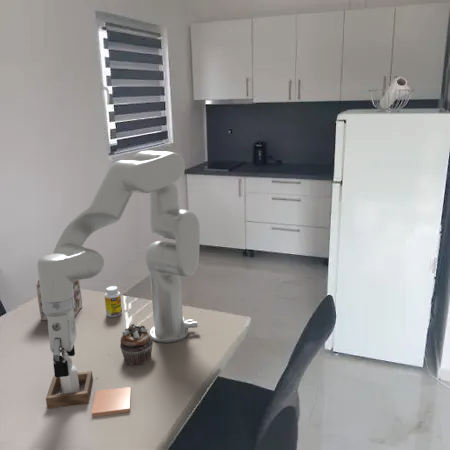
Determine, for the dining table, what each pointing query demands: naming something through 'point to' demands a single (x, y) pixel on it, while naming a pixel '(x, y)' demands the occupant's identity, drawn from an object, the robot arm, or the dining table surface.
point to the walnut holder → (70, 398)
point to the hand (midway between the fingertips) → (65, 365)
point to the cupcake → (136, 345)
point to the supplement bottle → (113, 301)
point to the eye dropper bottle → (70, 378)
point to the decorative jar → (76, 299)
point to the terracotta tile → (111, 401)
